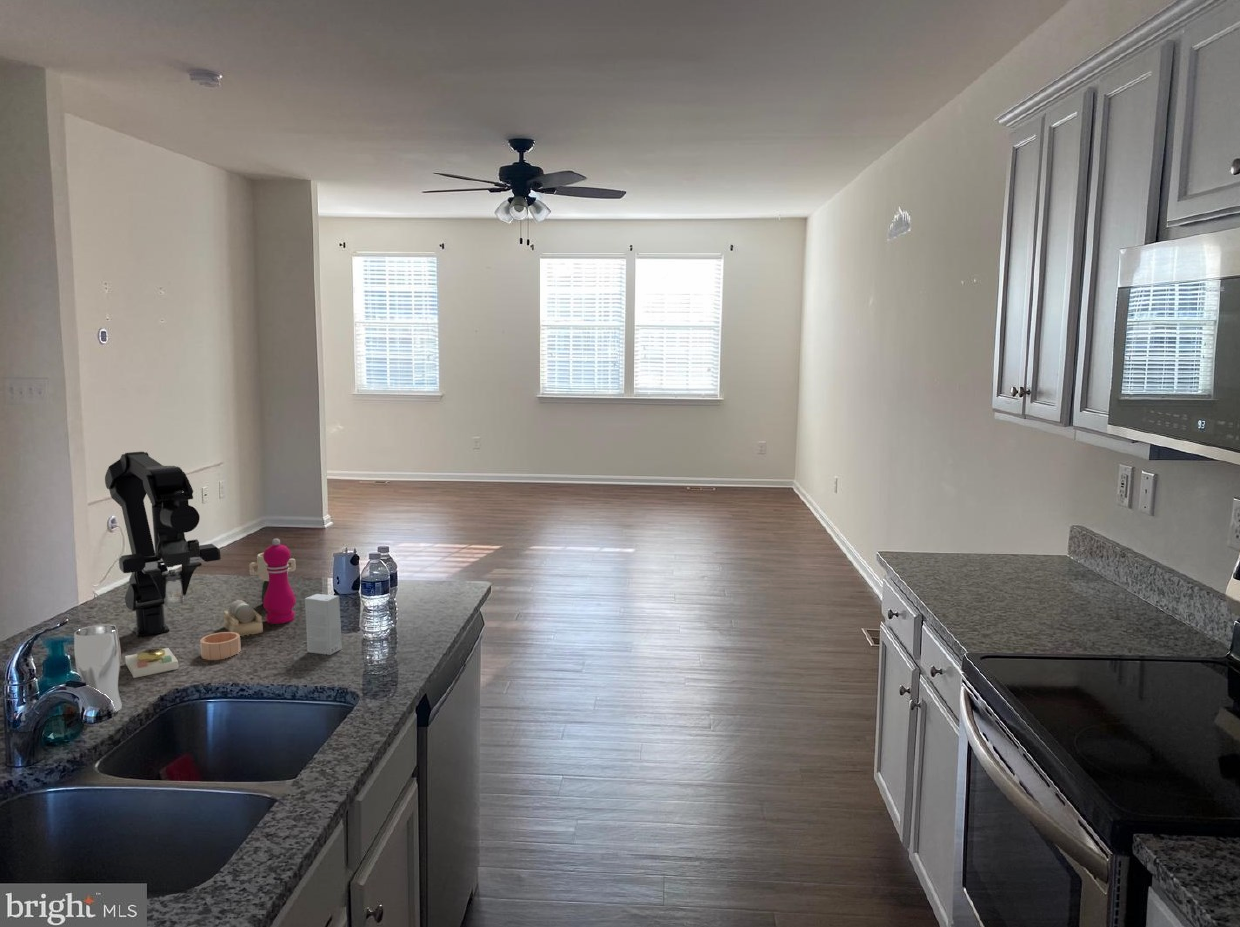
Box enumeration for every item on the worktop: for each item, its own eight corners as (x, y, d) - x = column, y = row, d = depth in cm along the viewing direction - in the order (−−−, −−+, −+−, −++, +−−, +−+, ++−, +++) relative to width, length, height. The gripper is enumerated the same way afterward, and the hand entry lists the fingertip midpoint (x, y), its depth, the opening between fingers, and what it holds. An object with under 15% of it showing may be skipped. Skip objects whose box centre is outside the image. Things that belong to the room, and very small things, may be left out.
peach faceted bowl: (198, 652, 182) (197, 636, 181) (235, 645, 186) (234, 629, 186) (206, 662, 176) (205, 646, 175) (244, 654, 180) (243, 638, 180)
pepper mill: (285, 625, 200) (280, 542, 197) (257, 623, 201) (253, 541, 198) (302, 616, 207) (298, 536, 204) (276, 614, 208) (271, 534, 205)
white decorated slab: (125, 663, 175) (124, 652, 175) (168, 655, 180) (167, 644, 180) (133, 677, 167) (132, 666, 167) (178, 668, 172) (177, 657, 172)
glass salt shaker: (162, 603, 184) (159, 569, 183) (182, 600, 186) (179, 566, 185) (166, 607, 181) (163, 573, 180) (186, 604, 183) (183, 570, 182)
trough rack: (224, 626, 199) (222, 600, 198) (250, 621, 202) (249, 596, 202) (235, 637, 191) (233, 610, 190) (262, 632, 195) (261, 606, 194)
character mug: (296, 597, 223) (293, 548, 221) (298, 604, 217) (296, 554, 215) (251, 602, 218) (248, 553, 216) (252, 609, 212) (249, 559, 210)
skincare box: (342, 649, 184) (340, 595, 182) (330, 655, 180) (327, 601, 178) (319, 646, 186) (316, 593, 184) (306, 652, 182) (303, 598, 180)
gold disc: (135, 656, 174) (135, 652, 174) (162, 650, 177) (162, 647, 177) (139, 663, 170) (139, 659, 170) (167, 657, 173) (167, 653, 173)
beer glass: (92, 721, 147) (85, 639, 145) (72, 713, 151) (64, 632, 149) (132, 707, 153) (126, 627, 151) (112, 699, 157) (106, 621, 155)
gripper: (125, 538, 169) (131, 613, 171) (224, 526, 181) (229, 597, 183) (115, 529, 178) (121, 601, 180) (211, 518, 189) (216, 586, 191)
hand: (173, 596), depth 183 cm, fingers closed on glass salt shaker, 4 cm apart
